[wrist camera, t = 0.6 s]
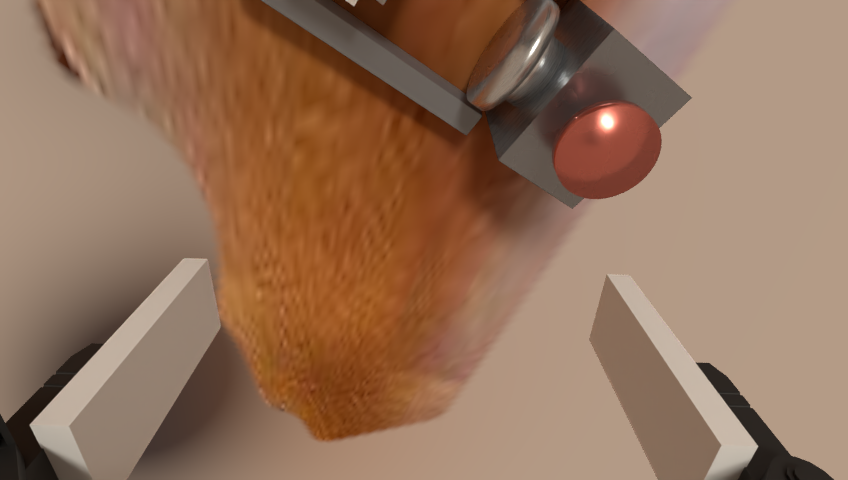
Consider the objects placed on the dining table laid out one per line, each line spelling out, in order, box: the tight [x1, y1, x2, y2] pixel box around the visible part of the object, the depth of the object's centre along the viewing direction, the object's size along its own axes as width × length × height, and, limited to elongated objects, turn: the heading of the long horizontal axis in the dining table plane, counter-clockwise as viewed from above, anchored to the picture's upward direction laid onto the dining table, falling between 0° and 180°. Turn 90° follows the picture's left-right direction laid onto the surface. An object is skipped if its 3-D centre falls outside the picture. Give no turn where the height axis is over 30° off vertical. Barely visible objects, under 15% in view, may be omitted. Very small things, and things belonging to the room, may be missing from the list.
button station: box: [467, 0, 691, 209], centre depth 31 cm, size 10×10×12 cm
